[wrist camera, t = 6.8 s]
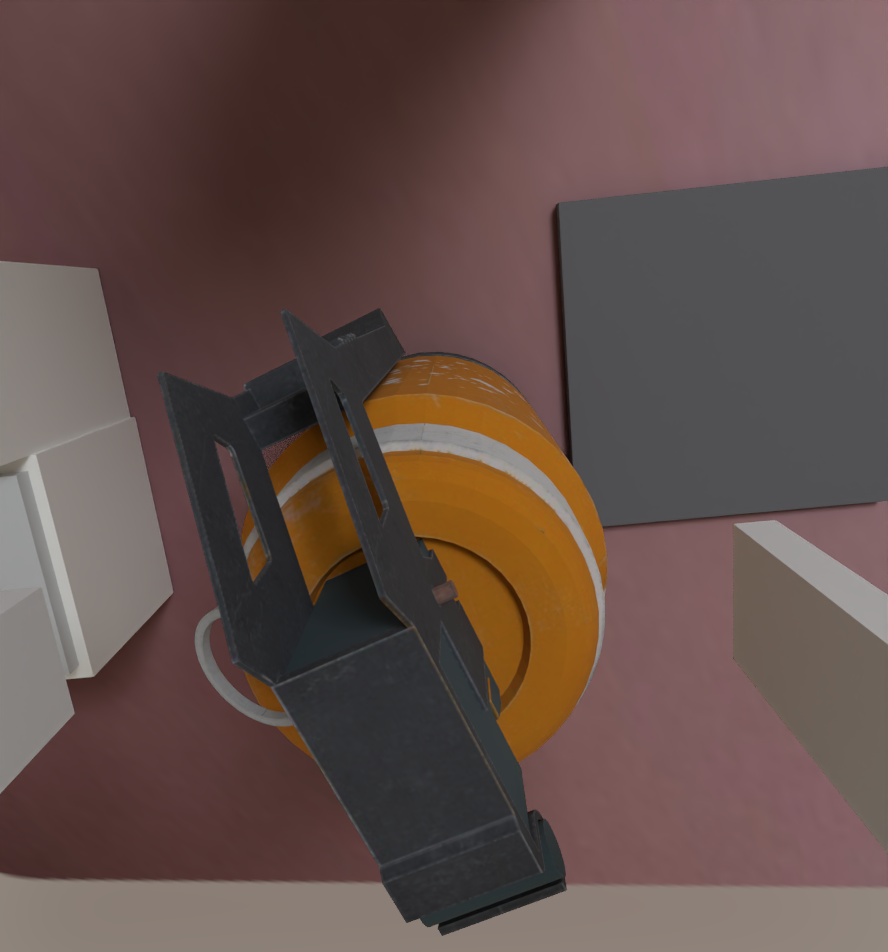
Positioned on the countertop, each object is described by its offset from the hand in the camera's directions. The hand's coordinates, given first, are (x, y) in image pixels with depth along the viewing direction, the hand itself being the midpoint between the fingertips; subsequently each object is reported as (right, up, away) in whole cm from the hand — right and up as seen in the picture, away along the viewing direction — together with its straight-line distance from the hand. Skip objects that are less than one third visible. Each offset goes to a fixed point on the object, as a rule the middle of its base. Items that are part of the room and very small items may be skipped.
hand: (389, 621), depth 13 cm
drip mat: (+12, +7, +15) cm, 21 cm away
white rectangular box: (-15, +4, +16) cm, 22 cm away
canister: (0, +4, +16) cm, 17 cm away
